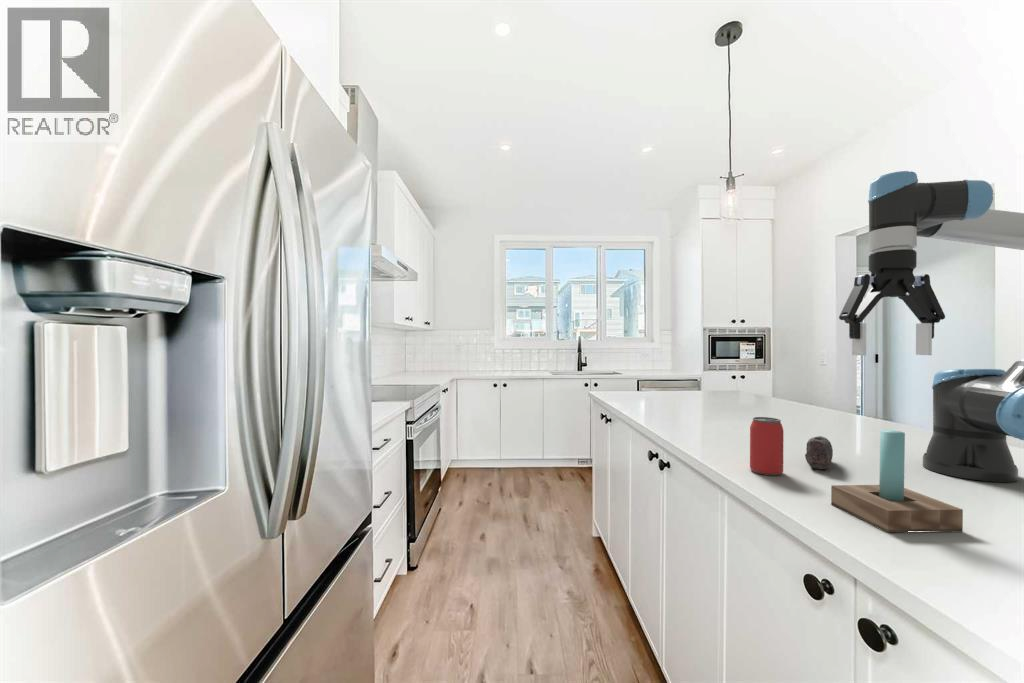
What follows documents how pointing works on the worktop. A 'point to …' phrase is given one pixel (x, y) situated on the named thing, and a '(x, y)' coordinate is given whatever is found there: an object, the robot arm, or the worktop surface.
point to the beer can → (766, 446)
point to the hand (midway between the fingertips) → (891, 355)
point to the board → (897, 509)
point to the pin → (892, 465)
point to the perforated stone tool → (819, 452)
